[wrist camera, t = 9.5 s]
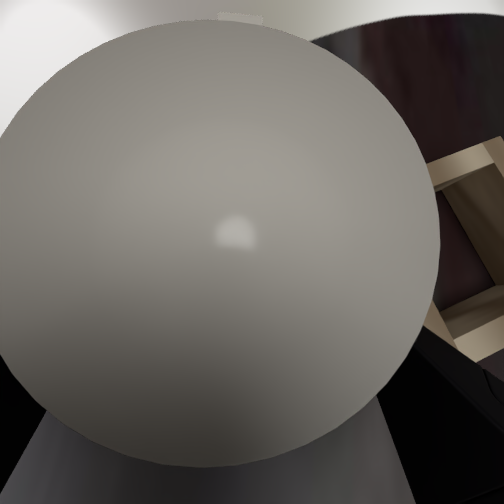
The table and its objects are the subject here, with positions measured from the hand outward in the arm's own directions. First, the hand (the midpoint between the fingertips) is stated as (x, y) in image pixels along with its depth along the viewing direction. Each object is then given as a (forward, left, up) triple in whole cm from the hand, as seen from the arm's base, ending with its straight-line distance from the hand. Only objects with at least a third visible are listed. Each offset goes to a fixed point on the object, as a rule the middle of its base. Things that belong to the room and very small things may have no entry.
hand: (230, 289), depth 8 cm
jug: (+1, +2, -8) cm, 8 cm away
